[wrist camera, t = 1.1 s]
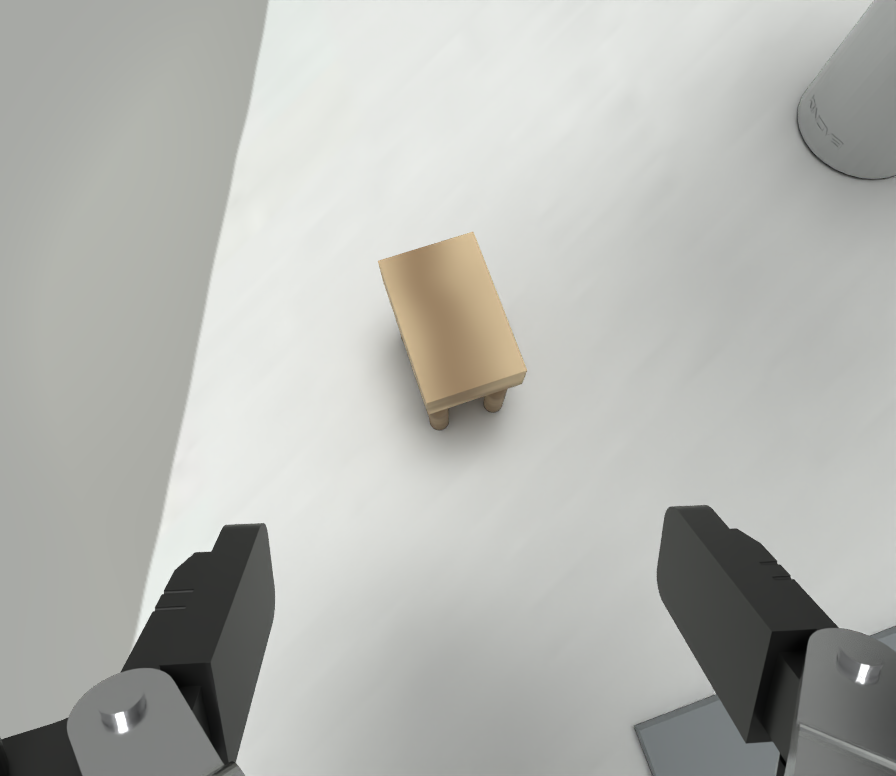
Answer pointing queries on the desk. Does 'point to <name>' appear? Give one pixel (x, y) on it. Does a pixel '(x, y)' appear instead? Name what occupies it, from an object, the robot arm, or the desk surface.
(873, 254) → the desk surface
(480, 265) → the oak stool
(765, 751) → the grey mat
